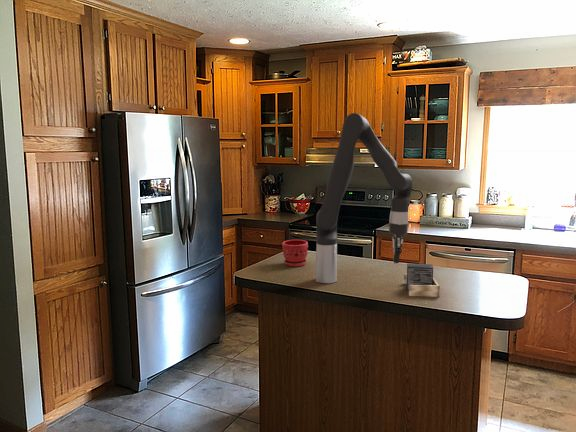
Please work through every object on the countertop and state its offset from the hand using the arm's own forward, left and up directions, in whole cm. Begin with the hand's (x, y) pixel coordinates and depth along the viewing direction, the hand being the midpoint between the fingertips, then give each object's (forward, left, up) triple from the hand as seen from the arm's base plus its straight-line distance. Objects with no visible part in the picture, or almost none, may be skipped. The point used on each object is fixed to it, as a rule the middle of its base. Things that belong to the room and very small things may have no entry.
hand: (396, 262), depth 195 cm
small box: (+10, +2, -12) cm, 16 cm away
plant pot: (-47, +39, -12) cm, 61 cm away
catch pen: (+10, +1, -12) cm, 15 cm away
